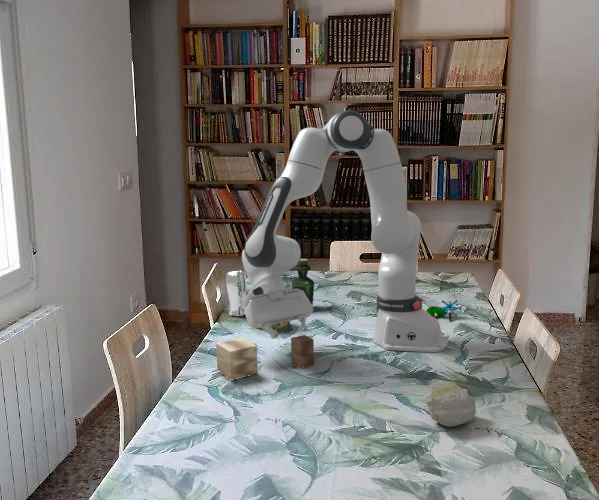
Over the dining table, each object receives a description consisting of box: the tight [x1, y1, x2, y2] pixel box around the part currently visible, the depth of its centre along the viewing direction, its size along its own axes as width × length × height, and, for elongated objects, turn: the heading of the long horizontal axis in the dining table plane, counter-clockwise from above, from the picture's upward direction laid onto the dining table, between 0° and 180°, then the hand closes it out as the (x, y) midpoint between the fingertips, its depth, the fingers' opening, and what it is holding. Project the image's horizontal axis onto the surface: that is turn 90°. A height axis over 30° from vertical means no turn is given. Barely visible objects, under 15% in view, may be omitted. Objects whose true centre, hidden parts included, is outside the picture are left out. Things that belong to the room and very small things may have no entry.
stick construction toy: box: [425, 299, 463, 322], centre depth 223 cm, size 12×7×8 cm
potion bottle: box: [291, 258, 315, 307], centre depth 237 cm, size 8×8×18 cm
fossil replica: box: [424, 383, 477, 428], centre depth 148 cm, size 12×8×10 cm
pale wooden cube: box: [215, 337, 259, 380], centre depth 179 cm, size 8×8×8 cm
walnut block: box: [290, 334, 315, 369], centre depth 184 cm, size 4×4×8 cm
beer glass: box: [225, 270, 247, 316], centre depth 232 cm, size 7×7×15 cm
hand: (290, 334), depth 187 cm, fingers open, 8 cm apart
